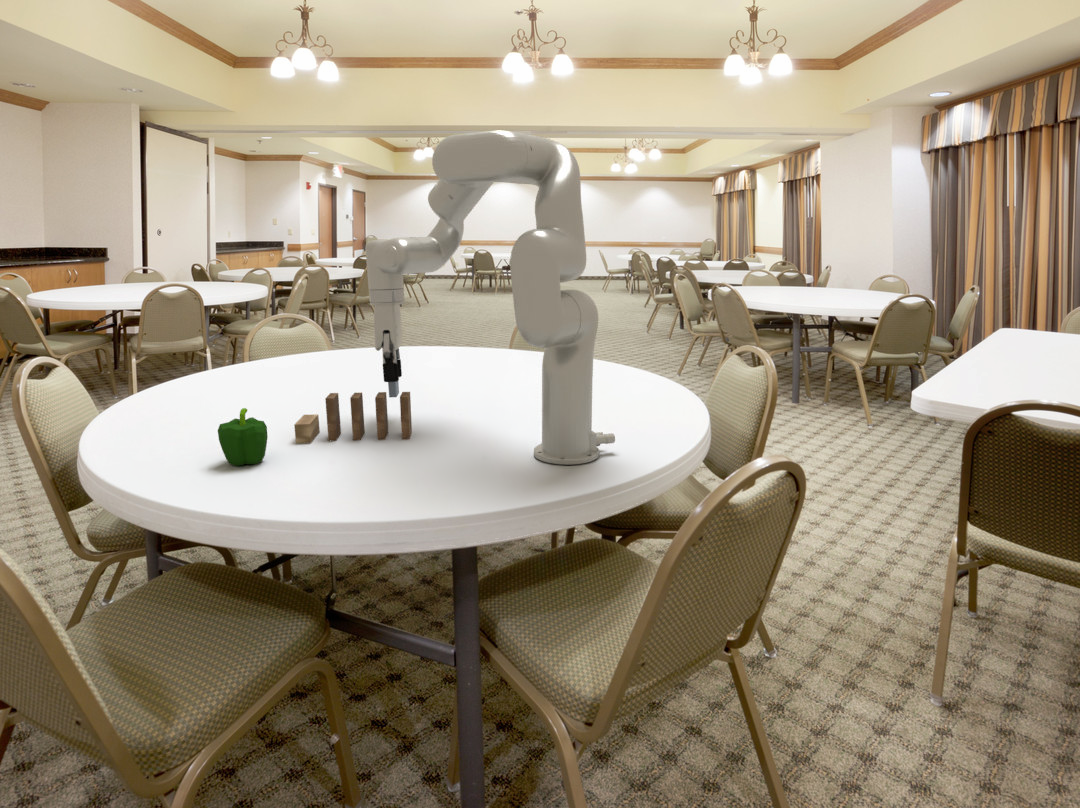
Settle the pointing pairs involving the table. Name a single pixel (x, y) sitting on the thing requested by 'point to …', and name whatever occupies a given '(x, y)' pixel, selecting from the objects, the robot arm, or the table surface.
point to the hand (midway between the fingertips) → (393, 378)
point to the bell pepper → (243, 440)
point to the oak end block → (307, 428)
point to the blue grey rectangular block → (393, 388)
